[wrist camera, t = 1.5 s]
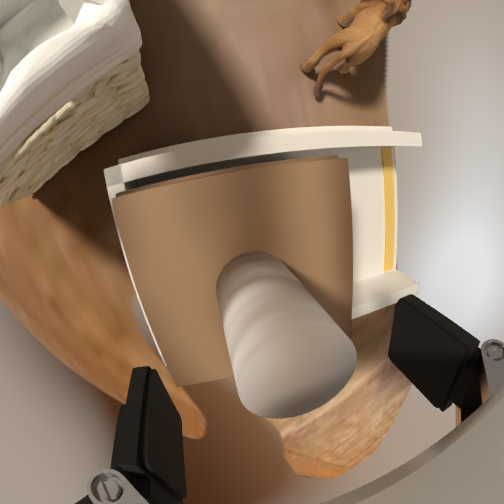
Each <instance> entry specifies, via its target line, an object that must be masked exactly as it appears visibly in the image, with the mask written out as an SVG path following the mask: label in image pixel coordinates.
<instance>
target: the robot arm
mask: <svg viewBox="0 0 504 504" xmlns="http://www.w3.org/2000/svg"><path fill="white" fill-rule="evenodd" d="M479 343H480V341H479V340H478V339H477V338H475V337H474V336H472V335H471V334H470V333H468V332H467V331H465V330H464V329H462V328H461V327H460V326H458V325H457V324H456V323H454V322H453V321H451V320H450V319H448V318H447V317H446V316H444V315H443V314H441V313H440V312H438V311H437V310H435V309H434V308H432V307H431V306H429V305H428V304H426V303H425V302H423V301H422V300H420V299H419V298H417V297H416V296H414V295H412V294H409V295H407V296H404V297H402V298H400V299H399V300H398V303H397V304H396V306H395V314H394V321H393V328H392V334H391V340H390V346H389V352H388V356H389V359H390V360H391V361H392V362H393V363H394V365H395V366H396V367H397V368H398V369H399V370H400V371H401V372H402V373H403V374H404V375H405V376H406V377H407V378H408V379H409V380H410V381H411V382H412V383H413V384H414V385H415V386H416V388H417V389H418V390H419V391H420V392H421V393H422V394H423V395H424V396H425V397H426V398H427V399H428V400H429V401H430V402H431V403H432V404H433V406H434V407H436V408H439V409H440V410H441V411H442V412H443V411H445V410H446V409H447V408H448V407H450V406H451V405H452V403H454V404H455V405H456V428H455V429H454V430H452V431H451V432H450V433H448V434H447V435H446V436H444V437H443V438H442V439H440V440H439V441H438V442H436V443H435V444H434V445H432V446H431V447H429V448H428V449H426V450H425V451H423V452H422V453H421V454H419V455H418V456H416V457H415V458H413V459H411V460H410V461H408V462H406V463H405V464H403V465H401V466H400V467H398V468H396V469H394V470H393V471H391V472H389V473H387V474H386V475H384V476H382V477H380V478H378V479H376V480H374V481H372V482H370V483H368V484H366V485H364V486H362V487H360V488H357V489H355V490H353V491H351V492H349V493H346V494H344V495H341V496H339V497H336V498H334V499H331V500H329V501H326V502H323V503H320V504H504V343H503V342H501V341H499V340H494V339H492V340H487V341H485V342H484V343H483V344H482V346H481V349H480V348H479V347H478V346H479ZM86 487H87V493H88V495H87V496H86V497H84V498H83V499H81V500H80V501H78V502H77V503H76V504H183V498H186V497H187V489H186V478H185V467H184V454H183V437H182V421H181V417H180V414H179V413H178V411H177V409H176V407H175V405H174V404H173V402H172V400H171V398H170V396H169V394H168V392H167V390H166V388H165V387H164V385H163V383H162V381H161V379H160V377H159V375H158V372H157V371H156V369H151V368H150V367H149V366H144V367H136V368H133V370H132V375H131V380H130V385H129V390H128V395H127V401H126V404H124V405H122V406H121V407H120V411H119V416H118V421H117V427H116V433H115V440H114V447H113V454H112V461H111V469H101V470H99V471H96V472H95V473H94V474H92V475H91V476H90V478H89V480H88V482H87V486H86Z"/></svg>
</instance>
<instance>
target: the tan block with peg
mask: <svg viewBox="0 0 504 504" xmlns="http://www.w3.org/2000/svg"><path fill="white" fill-rule="evenodd" d="M115 195H116V197H115V198H113V199H111V200H112V204H113V208H114V213H115V217H116V221H117V225H118V229H119V233H120V236H121V240H122V244H123V247H124V251H125V254H126V258H127V261H128V264H129V267H130V271H131V274H132V277H133V280H134V283H135V286H136V289H137V292H138V295H139V298H140V300H141V303H142V306H143V309H144V311H145V314H146V317H147V319H148V322H149V324H150V327H151V330H152V332H153V335H154V337H155V339H156V342H157V344H158V347H159V349H160V351H161V354H162V356H163V358H164V360H165V363H166V365H167V367H168V369H169V371H170V373H171V376H172V378H173V380H174V382H175V384H176V386H177V387H179V386H185V385H191V384H196V383H202V382H208V381H213V380H218V379H223V378H227V377H232V376H234V377H235V381H236V385H237V389H238V393H239V397H240V399H241V402H242V403H243V405H244V406H245V407H246V408H247V409H248V410H249V411H251V412H252V413H254V414H256V415H259V416H262V417H267V418H289V417H294V416H298V415H302V414H305V413H308V412H310V411H312V410H314V409H316V408H318V407H320V406H322V405H324V404H325V403H327V402H328V401H329V400H331V399H332V398H333V397H334V396H336V395H337V394H338V393H339V392H340V391H341V390H342V389H343V388H344V386H345V385H346V384H347V382H348V381H349V379H350V378H351V376H352V374H353V372H354V369H355V366H356V360H357V354H356V349H355V346H354V344H353V343H352V341H351V340H350V335H351V320H352V298H353V227H352V206H351V190H350V178H349V167H348V158H338V155H328V156H316V157H306V158H292V159H284V160H276V161H268V162H261V163H254V164H247V165H241V166H235V167H229V168H223V169H217V170H212V171H206V172H201V173H196V174H191V175H186V176H182V177H177V178H172V179H168V180H164V181H159V182H155V183H151V184H147V185H143V186H140V187H137V188H133V189H129V190H126V191H122V192H119V193H117V194H115Z"/></svg>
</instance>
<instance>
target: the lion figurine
mask: <svg viewBox="0 0 504 504" xmlns="http://www.w3.org/2000/svg"><path fill="white" fill-rule="evenodd" d="M410 6H411V0H361V2H360V4H359V5H358V6H356V7H354V8H353V9H352V10H350V11H349V13H348V15H347V16H346V17H343V16H338V17H337V21H338V23H339V24H340V25H341V26H343V27H347V26H349V27H348V28H345V29H343V30H341V31H339V32H337V33H336V34H334V35H333V36H331V37H330V38H328V39H327V40H326V41H325V42H324V43H323V44H322V45H321V46H320V47H319V49H318V50H317V51H316V53H315V54H314V55H313V56H312V57H311V58H310V59H309V60H308V61H303V62H302V63H301V65H300V68H301V69H302V70H303V71H304V72H306V73H309V72H311V71H312V70H313V68H314V67H316V66H317V65H318V63H319V62H320V60H321V59H322V58H323V57H324V56H325V55H327V54H329V53H332V52H335V51H340V53H338V54H337V55H336V56H335V57H333V58H332V59H331V60H330V61H329V62H328V63H327V64H326V65H325V66H324V67H323V68H322V70H321V71H320V73H319V75H318V78H317V82H316V85H315V87H314V88H313V90H314V96H315V97H319V96H320V93H321V90H322V88H323V79H324V77H325V75H326V74H327V73H328V71H329V70H330V69H332V68H333V67H334V66H335V65H337V64H338V63H340V62H341V61H342V60H344V59H345V58H346V59H345V62H344V63H340V64H339V65H338V66H337V69H338V71H339V72H340V73H341V74H346V73H348V72H349V68H350V67H352V66H355V65H357V64H361V63H363V62H364V61H365V60H366V59H368V58H369V57H370V56H371V55H372V54H373V53H374V51H375V50H376V49H377V47H378V45H379V42H380V41H381V40H382V39H383V38H384V37H385V36H386V35H387V34H388V32H389V30H390V29H391V28H392V27H393V26H396V25H398V24H401V22H402V21H403V20H404V19H405V18H406V13H407V12H408V11H409V8H410Z"/></svg>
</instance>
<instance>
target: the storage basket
mask: <svg viewBox="0 0 504 504" xmlns="http://www.w3.org/2000/svg"><path fill="white" fill-rule="evenodd" d="M141 46H142V38H141V31H140V28H139V26H138V24H137V22H136V19H135V17H134V14H133V12H132V10H131V6H130V1H129V0H0V207H4V206H6V205H7V204H9V203H13V202H15V201H17V200H20V199H22V198H24V197H27V196H29V195H31V194H32V193H35V192H36V191H37V190H39V189H40V188H41V186H42V185H43V184H44V183H45V182H46V181H47V180H49V179H51V178H52V177H53V176H54V175H55V174H56V173H57V172H58V171H59V170H60V169H61V168H62V167H63V166H65V165H67V164H68V163H69V162H70V161H71V160H72V159H74V158H75V156H76V155H77V154H78V153H79V152H80V151H83V150H85V149H86V148H88V147H89V146H91V145H92V144H94V143H95V142H96V141H97V140H98V139H99V138H100V137H101V136H102V135H103V134H104V133H106V132H108V131H110V130H111V129H113V128H115V127H116V126H118V125H119V124H120V123H122V122H123V120H124V119H126V118H129V117H131V116H132V115H134V114H135V113H137V112H138V111H140V110H141V109H142V108H143V107H145V106H146V104H147V103H148V102H149V101H150V96H149V91H148V87H147V83H146V81H145V76H144V72H143V70H142V66H141V65H140V63H141V54H140V51H139V49H140V47H141Z"/></svg>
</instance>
